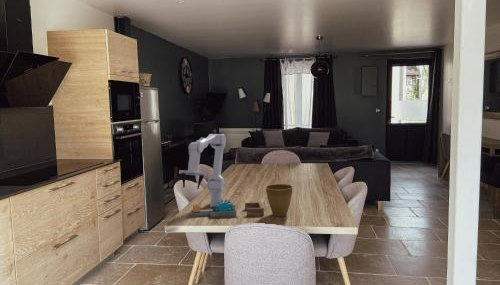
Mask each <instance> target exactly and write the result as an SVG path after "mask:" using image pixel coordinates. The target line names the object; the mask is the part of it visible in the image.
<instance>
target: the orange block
mask: <svg viewBox="0 0 500 285" xmlns="http://www.w3.org/2000/svg"><path fill="white" fill-rule="evenodd" d="M192 210H193V213H197V212H214V211H213V209H211V210H209V209H201V204H193V205H192Z"/></svg>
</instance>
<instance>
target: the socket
mask: <svg viewBox="0 0 500 285" xmlns="http://www.w3.org/2000/svg"><path fill="white" fill-rule="evenodd" d="M219 206H220V205H219ZM230 207H235V209H234V210H233V211H220V210H218V211H219V212H218V211H216V208H217V209H219V208H218V207H216V206H211V207H210V208H209V209H208V210H211V209H213V212H197V213H193V209H192V210H191V214H190V216H191V217H192V216H197V217H210V218H211V219H219V218H236V217H237V210H236V204H233V206H230ZM192 218H193V217H192Z"/></svg>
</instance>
